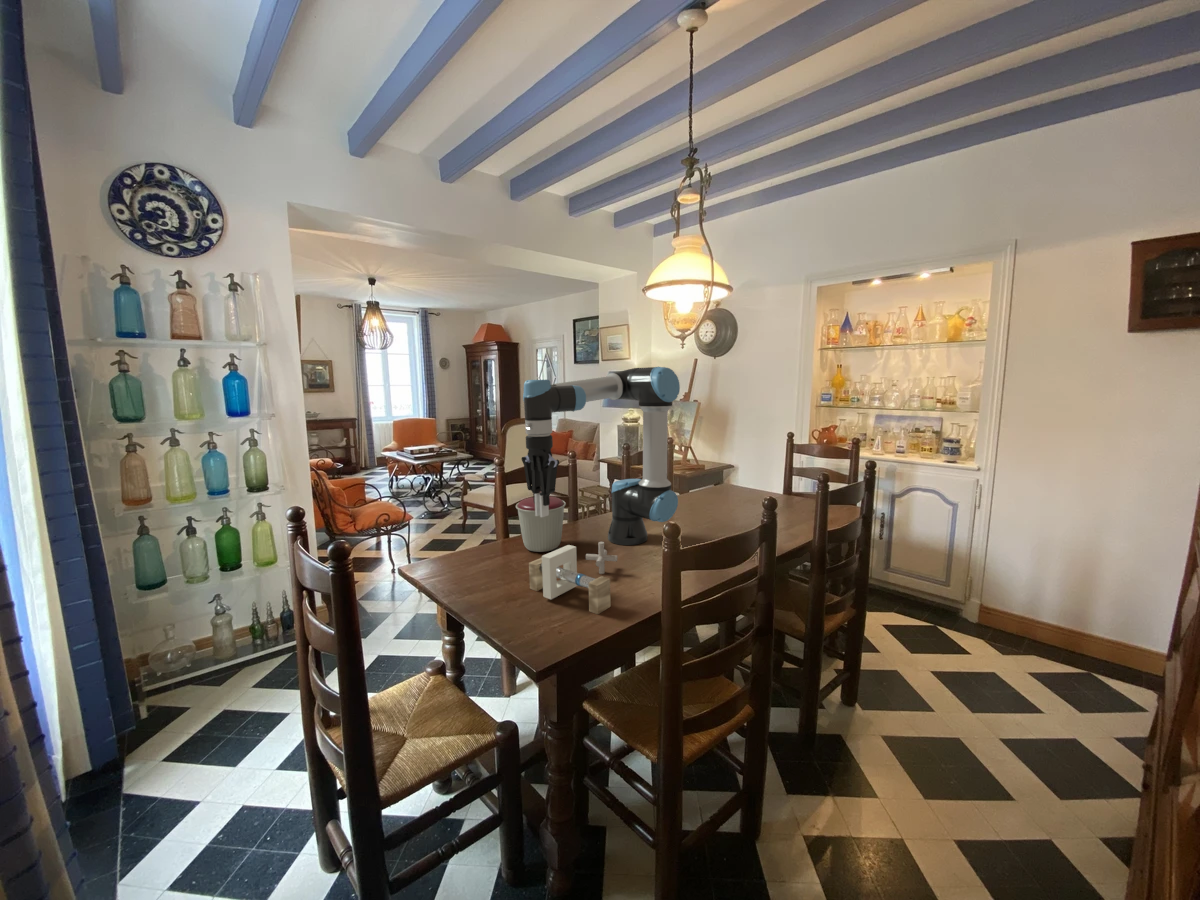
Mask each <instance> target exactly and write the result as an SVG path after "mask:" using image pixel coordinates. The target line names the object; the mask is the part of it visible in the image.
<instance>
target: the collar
mask: <svg viewBox="0 0 1200 900" xmlns="http://www.w3.org/2000/svg"><path fill="white" fill-rule="evenodd" d="M541 558H542V576H543V589H542V593H543V594H542V595H543V598H546V599H547V600H548V599H549V600H554V599H555V598H557V597H558V596H559V597H560V595H563V594H565V593H567V592H568V591H570V590H572V589H574V588H575V587H578V585H576V584H574V583H571V582H568V581H565V580H562V579H558V578H557V575H556V568H557V567H561V566H563V567H562V568H564V569H567V570H570V571H573V572H576V573H578V566H577V563H578V562H577V560H578V559H577V546H574V545H572V544H571V545H570V544H567V545H564V546H562V547H559V548H556V549H554V550H551V552H548V553H546V554H543V555H541ZM557 579H558V580H557Z"/></svg>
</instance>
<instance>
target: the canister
mask: <svg viewBox="0 0 1200 900" xmlns="http://www.w3.org/2000/svg"><path fill="white" fill-rule="evenodd" d="M549 498H550V504H549V505H548V506H549V515H548V516H545V517H540V515H539V516H535V504H534V498H533V496H531V497H526V498H524V499H522V500H520V501H519V502H518V503H516V505H515V508H516V510H517V514H518V519H519V524H520V526H519V527H520V533H521V538H522V541H523V545H524V547H525V548H526V549H527V550H528V551H529V552H536V553H544V552H545V553H546V552H549V551H551V552H552V551H555V550H557V549H558V548H559V546H560V544H561V541H562V535H563V534H562V533H563V525H564V512H565V506H567V503H566V502H565V500H563V499H561V498H559V497H555V496H551V495H549Z"/></svg>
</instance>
